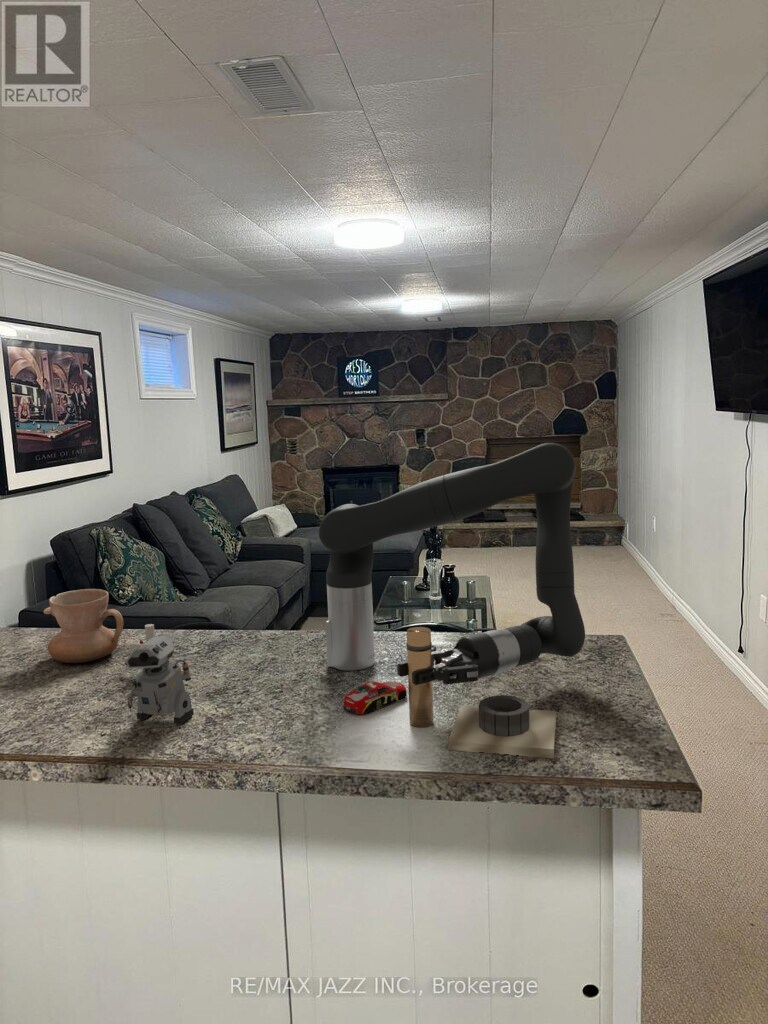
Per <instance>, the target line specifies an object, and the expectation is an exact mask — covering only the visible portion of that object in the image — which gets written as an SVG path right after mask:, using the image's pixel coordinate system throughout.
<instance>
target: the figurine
mask: <svg viewBox="0 0 768 1024" xmlns="http://www.w3.org/2000/svg"><path fill="white" fill-rule="evenodd" d="M175 641H176V640H175V639H174V638H173V637H171V636H169V634H167V635H166V634H165V635H155V636H154V637H153V638H151V639H150V640H148V641H146V640H145V641H144V640H139V642H138V643H140V644H142V645H141V646H139V647H138V648H136V649H135V650H134V651H131V653H132V654H130V655H129V656H128V657H127V658H126V660H124V661H125V662H124V664H125V666H127V667H128V669H130V670H131V669H133V670H134V669H142V670H140V671H139V672H138V673H137V674H135V675H134V678H133V679H132V682H133V687H134V688H132V689H131V692H130V693H129V694H127V695H126V699H127V707H128V709H129V710H130V711H132V709H133V702H134V697H137V712H136V719H137V720H139V721H140V720H141V721H145V719H148V718H149V716H152V715H153V716H154V715H155V716H167V715H169V714H171V713H174V717H173V724H175V725H177V726H182V725H183V724H185V723H186V721H189V720H190V719H192V718H193V716H194V715H195V712H194V708H193V707H192V699H191V696H190V694H189V693H188V692H187V691H186V689H185V684H184V681H185V682H189V681H191V680H192V678H191V675H190V674H191V673H190V670H189V668H190V667H189V664H188V662H187V661H184V660H182V659H181V660H177V661H176V662H170V659H171V658H172V657H173V655H174V652H175V651H174V650H175V647H174V644H175ZM180 662H182V664H181V665H182V668H181V666H180V665H179V663H180ZM182 670H183V671H182Z"/></svg>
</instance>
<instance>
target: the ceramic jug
mask: <svg viewBox="0 0 768 1024" xmlns="http://www.w3.org/2000/svg"><path fill="white" fill-rule="evenodd" d="M109 596H110V595H109V592H108V591H107V590H104V589H100V588H98V589H97V588H85V589H77V590H69V591H65V592H61V593H58V594H56V596H55V595H54V596H53V595H52V596H51V597H50V598H49V599H48V603H49V607H47V608H44V610H43V614H45V615H52V616H53V617H55V619H56V621H57V624H58V625H59V627H60V629H61V631H59V632H58V633H57V634H56V635H55V636H54V637H52V638H51V639H50V640H48V641H49V642H48V645H47V652H48V654H49V656H50V657H51V658H52V659H54V660H55V661H58V662H61V663H65V664H66V663H67V664H82V663H88V662H93V661H96V660H100V659H102V658H105V657H106V656H108V655H110V654H112V652H114V651H115V650H116V649H117V647H118V644H119V639H120V636H121V635H122V632H123V630H124V629H123V628H124V618H123V616H122V615H123V614H121V612H120V611H118V610H117V609H115V608H109V609H108V603H109V598H110V597H109ZM109 616H113V617H114V618H115V625H116V627H115V631H113V629H110V628H108V627H105V626H104V625H103V623H104V621H105V619H106V618H108V617H109Z"/></svg>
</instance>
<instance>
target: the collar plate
mask: <svg viewBox="0 0 768 1024" xmlns="http://www.w3.org/2000/svg"><path fill="white" fill-rule="evenodd" d="M457 713H458V714H457V716H456V719H455V721H454V725H453V727H452V729H451V733H450V735H449V737H448V741H447V746H448V747H447V750H448V751H455V752H457V751H458V752H468V753H479V752H485V753H484V754H491V753H499V754H498V755H503V754H509V755H508V756H516V755H519V756H518V757H528V758H530V757H531V758H540V757H541V758H542V759H551V760H552V759H554V757H555V745H556V731H555V730H556V727H557V711H555V710H543V709H542V710H540V709H530V703H529V702H528V701H526V700H525V699H523V698H520V697H517V696H514V695H513V696H512V695H503V694H499V695H493V696H487V697H485V698H483V699H480V701H479V704H478V705H467V704H461V705H460V708H459V711H458V712H457Z"/></svg>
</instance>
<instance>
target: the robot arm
mask: <svg viewBox="0 0 768 1024" xmlns="http://www.w3.org/2000/svg"><path fill="white" fill-rule="evenodd" d="M576 471H577V467H576V461H575V457H574V456H573V454H572V453H571V451H570V450H569V449H568V448H567V447H565V446H564V445H562V444H559V443H556V442H544V443H541V444H538V445H536V446H535V447H531V448H529V449H528V450H524V451H522V452H521V453H518V454H515V455H514V456H510V457H508V458H506V459H503V460H500V461H498V462H494V463H491V464H485V465H481V466H480V465H479V466H476V467H472V468H471V467H470V468H467V469H463V470H458V471H454V472H450V473H447V474H445V475H443V474H442V475H440V476H436V477H434V478H430V479H428V480H427V479H426V480H424V481H422V482H419V483H416V484H414V485H412V486H410V487H409V486H408V487H407V488H405V489H403V490H400V491H399V492H396V493H394V494H392V495H390V496H388V497H386V498H384V499H380V500H378V501H376V502H375V501H374V502H371V503H367V504H361V505H358V504H355V503H345V504H342V505H339V506H338V507H335V508H334V509H332V510H331V511H329V512H327V513H326V515H325V516H324V517H323V519H321V522H320V524H319V527H318V537H319V540H320V542H321V544H322V545H323V547H324V548H326V549H328V550H329V563H328V567H327V569H326V572H325V573H326V574H325V575H326V595H327V596H326V597H327V615H328V618H327V620H326V621H325V622H324V623H325V624H324V625H325V641H326V645H325V646H326V647H325V648H326V664H327V666H326V667H328V668H334V669H337V670H341V671H359V670H360V671H361V670H364V669H365V670H366V669H368V668H370V667H372V666H373V665H374V664H375V661H376V659H375V636H374V634H375V633H374V611H373V609H374V607H373V586H372V574H373V573H372V572H373V566H374V543H376V542H379V541H381V540H384V539H386V538H390V537H393V536H394V537H395V536H398V535H401V534H409V533H413V532H418V531H423V530H426V529H430V528H435V527H439V526H443V525H447V524H450V523H454V522H457V521H461V520H463V519H464V520H465V519H466V518H469V517H471V516H473V515H477V514H479V513H481V512H484V511H485V510H487V509H490V508H491V507H494V506H495V505H498V504H500V503H502V502H505V501H508V500H512V499H516V498H520V497H525V496H529V495H534V496H533V497H534V502H535V509H536V520H537V521H536V522H537V523H536V544H535V586H536V587H535V588H536V597H537V600H538V602H540V603H542V604H544V605H546V606H547V607H548V608H549V610H550V614H551V615H545V616H543V615H542V616H538V617H533V618H531V619H529V620H528V621H525V622H523V623H521V624H520V625H514V626H510V627H506V628H502V629H492V630H488V631H483V632H480V633H475V634H474V633H473V634H470V635H467V636H463V637H461V638H459V639H458V641H457V642H456V644H455V646H454V647H452V648H451V647H447V648H443V649H441V650H437V646H436V645H433V644H432V648H431V657H432V667H428V668H424V669H420V670H416V671H413V672H412V683H413V684H415V685H419V684H423V683H427V682H430V681H432V682H435V683H439V682H442V684H443V685H455V684H461V683H462V684H463V683H471V682H477V681H479V679H482V678H485V677H490V676H493V675H497V674H501V673H503V672H507V671H509V670H510V669H513V668H517V667H519V666H520V667H521V666H524V665H527V664H530V663H531V664H532V663H533V662H535V661H536V660H537V659H538V658H539V657H540V656H541V655H542V654H549V655H555V656H561V657H573V656H576V655H578V654H579V653H580V651H582V648H583V647H584V644H585V640H586V629H585V624H584V621H583V617H582V613H581V610H580V606H579V603H578V600H577V597H576V594H575V572H574V571H575V570H574V569H575V568H574V566H575V565H574V554H573V546H572V545H573V544H572V542H573V541H572V535H571V533H572V532H571V502H572V501H571V500H572V499H571V498H572V491H573V490H572V489H573V485H574V484H573V483H574V480H575V477H576V474H577V472H576ZM396 669H397V671H396V672H397V676H399V677H401V678H403V677H406V676H407V677H408V660H406V661H402V662H399V663H397V665H396Z"/></svg>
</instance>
